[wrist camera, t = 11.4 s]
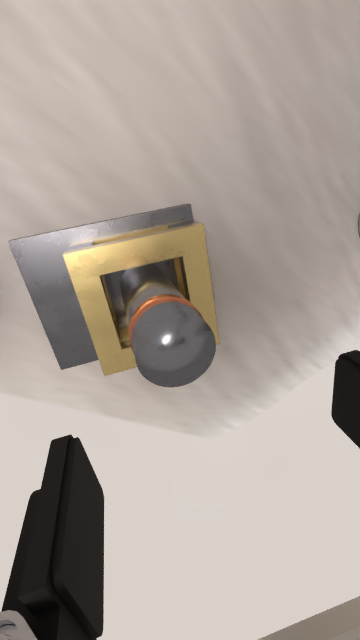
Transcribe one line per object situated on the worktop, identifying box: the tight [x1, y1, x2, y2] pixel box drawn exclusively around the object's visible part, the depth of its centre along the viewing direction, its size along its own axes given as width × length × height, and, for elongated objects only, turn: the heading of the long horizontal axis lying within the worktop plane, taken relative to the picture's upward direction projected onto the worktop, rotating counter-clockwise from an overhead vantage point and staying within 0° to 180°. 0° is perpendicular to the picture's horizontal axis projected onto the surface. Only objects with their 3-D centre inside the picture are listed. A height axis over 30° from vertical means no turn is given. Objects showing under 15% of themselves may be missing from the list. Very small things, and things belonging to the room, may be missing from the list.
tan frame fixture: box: [8, 204, 220, 376], centre depth 26 cm, size 16×13×6 cm
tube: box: [120, 264, 216, 387], centre depth 22 cm, size 5×5×14 cm
